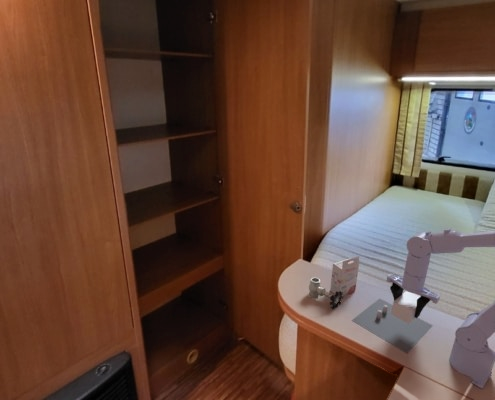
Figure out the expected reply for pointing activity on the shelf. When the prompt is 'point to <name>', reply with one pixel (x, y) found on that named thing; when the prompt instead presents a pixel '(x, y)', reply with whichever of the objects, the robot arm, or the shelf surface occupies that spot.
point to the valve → (324, 292)
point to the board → (392, 326)
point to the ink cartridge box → (344, 276)
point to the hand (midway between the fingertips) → (406, 311)
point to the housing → (405, 307)
